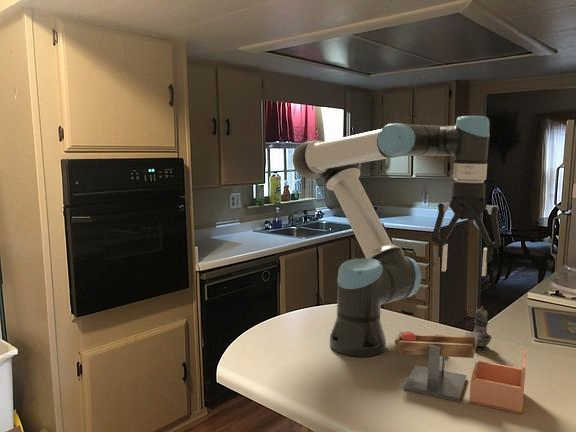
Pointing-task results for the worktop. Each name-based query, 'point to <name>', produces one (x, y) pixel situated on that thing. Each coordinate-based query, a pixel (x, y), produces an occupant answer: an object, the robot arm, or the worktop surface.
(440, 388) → the lever stand
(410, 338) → the ball
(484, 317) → the grey stone statuette
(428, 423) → the worktop surface
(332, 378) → the worktop surface
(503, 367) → the orange open box
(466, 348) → the lever
